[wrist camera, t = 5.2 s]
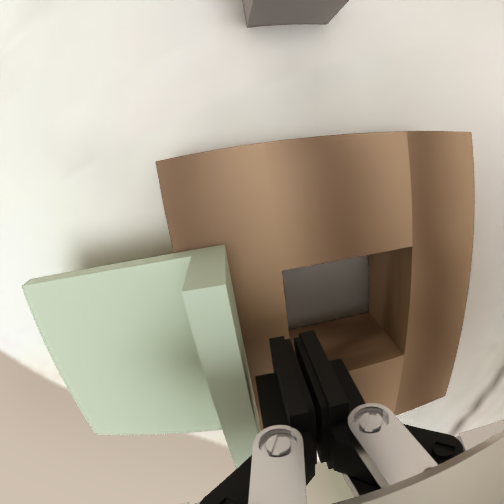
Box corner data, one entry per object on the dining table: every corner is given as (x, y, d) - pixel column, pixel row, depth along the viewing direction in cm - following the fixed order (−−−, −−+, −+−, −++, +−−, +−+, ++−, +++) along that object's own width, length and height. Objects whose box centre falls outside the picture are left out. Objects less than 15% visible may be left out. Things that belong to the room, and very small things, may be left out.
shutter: (224, 244, 12) (225, 284, 8) (258, 413, 15) (267, 471, 11) (30, 279, 12) (-17, 318, 8) (99, 424, 14) (82, 474, 11)
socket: (417, 132, 16) (471, 132, 12) (412, 356, 21) (445, 395, 16) (175, 158, 16) (155, 161, 11) (229, 399, 21) (232, 453, 16)
